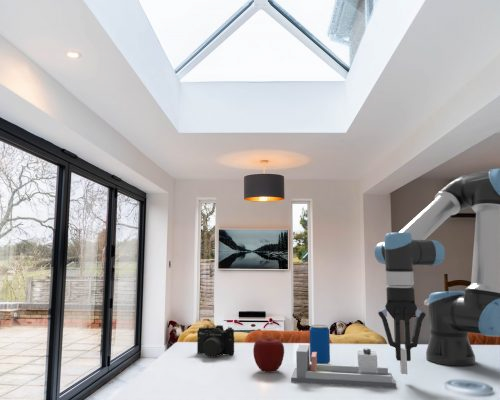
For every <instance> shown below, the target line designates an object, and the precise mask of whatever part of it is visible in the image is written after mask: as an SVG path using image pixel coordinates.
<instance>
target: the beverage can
mask: <svg viewBox="0 0 500 400" xmlns="http://www.w3.org/2000/svg"><path fill="white" fill-rule="evenodd" d="M330 345H331V344H330V329H329V326H328V325H326V324H312V325H310V329H309V356H310V363H311V356H312V352H317V364H328V365H329V363H330V362H331V351H330V350H331V349H330V347H331V346H330Z"/></svg>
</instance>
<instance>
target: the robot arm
mask: <svg viewBox="0 0 500 400" xmlns="http://www.w3.org/2000/svg"><path fill="white" fill-rule="evenodd" d="M468 208H471V209H472V210H473V212H474V213H475V225H474V240H473V241H474V242H473V253H472V264H471V265H472V266H471V268H472V269H471V277H470V285H468V286H467V287H466V288H464V289H465V290H450V291H436V292H431V293H430V294H429V296H428V312H429V313H428V314H429V329H430V336H429V341H428V344H427V346H426V347H427V348H426V351H425V357H426V360H427V361H428V362H431V363H434V364H439V365H445V366H453V367H454V366H458V367H459V366H462V367H464V366H465V367H466V366H473V365H475V364H476V355H475V353H474V350H473V348H472V347H473V346H472V344H471V343H470V340H469V333H470V334H475V335H482V336H485V337H495V338H496V337H497V338H498V337H500V168H491V169H488V170H483V171H479V172H473V173H468V174H463V175H461V176H459V177H457V178H455V179H453V180H451V182H449V183H448V184H446V186H444V187H443V188H442V189H440V190H439V191H438V192H437V193H436V194H435V196H434V200H433V201H431V202H430V203H429V204H428V205H427V206H426V207H425V208H424V209H422V211H420V212H419V213H418V214H417V215H416V216H415V217H414V218H413V219H412V220H410V221H409V222H408V223H407V224H406V225H405V226H404V227H403V228H402V229H401V230H399V231H397V232H388V233H386V234H385V235H384V241H380V242H378V243H377V244H376V245H375V248H374V257H375V259H376V260H377V262H378V263H380V264H381V265H385V284H386V286H388V287H386V288H385V290H386V304H385V307H384V308H383V309H381V310H377V314H378V316H379V317H380V318H381V321H382V324H383V328H384V331H385V336H386V338H387V342H388V345H389V346H390V347H393V348H395V359H396V361H399V365H400V366H399V368H400V370H399V371H400V373H401V375H408V362H411V359H412V357H411V352H412V351H411V349H413V348H417V346H418V342H419V339H420V333H421V327H422V323H423V320H424V319H425V317H426V312H424V311H422V310H420V309H419V308H418V307H417V304H416V301H415V298H416V297H415V288H414V287H413V286H414V285H415V280H414V279H415V277H414V266H430V267H431V266H437V265H440V264H441V263H442V262H443V261H444V260H445V257H446V251H445V247H444V245H443V243H441V242H440V241H438V240H432V239H427V238H428V237H430V235H431V234H433V233H434V232H435V231H436V230H437V229H438V228H439V227H440V226H441V225H443V223H444V222H446V221H447V220H448V218H450V217H451V216H455V215H457V214H458V213H459V212H461V211H462V210H464V209H468ZM388 314H389V315H390V316H391V318H392V319H393V323H394V325H393V326H394V340H393V337H392V333H391V329H390V325H389V323H388V322H389V321H388V319H387V318H388V317H387V316H388ZM414 314H415V318H416V319H415V323H414V326H413V327H414V328H413V334H412V337H411V331H410V329H411V328H410V327H411V326H410V323H411V322H410V320H411V319H412V318H413V316H414ZM401 321H403V337H404V347H401V345H402V344H401V325H400V324H401Z"/></svg>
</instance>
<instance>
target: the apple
mask: <svg viewBox="0 0 500 400" xmlns="http://www.w3.org/2000/svg"><path fill="white" fill-rule="evenodd" d="M252 351H253V358H254V362H255V364H256V366H257V367H258V369H259V370H260V371H261V372H263V373H275V372H276V371H278V369H280V367H281V365H282V364H283V361H284V357H285V346H284V344H283V342H282V341H281V340H280V339H277V338H273V337H259V338H258V339H257V340H255V342H254V344H253V349H252Z"/></svg>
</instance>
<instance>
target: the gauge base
mask: <svg viewBox="0 0 500 400" xmlns="http://www.w3.org/2000/svg"><path fill="white" fill-rule="evenodd" d="M295 355H296V367H295V368H294V369H293V372H292V374H291V377H290V382H291V383H300V384H301V383H303V384H321V385H334V386H352V387H353V386H354V387H368V388H369V387H371V388H373V387H374V388H385V389H386V388H387V389H389V388H391V389H397V383H396V381H395V378H394V377H393V373H392V372H389V368H388V367H386V366H384V367H383V366H377V370H378V375H373V374H358V365H345V364H343V365H342V364H329V363H328V364H317V372H315V371H311V362H310V344H309V345H308V344H299V345H298V347H297V349H296V353H295Z"/></svg>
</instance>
